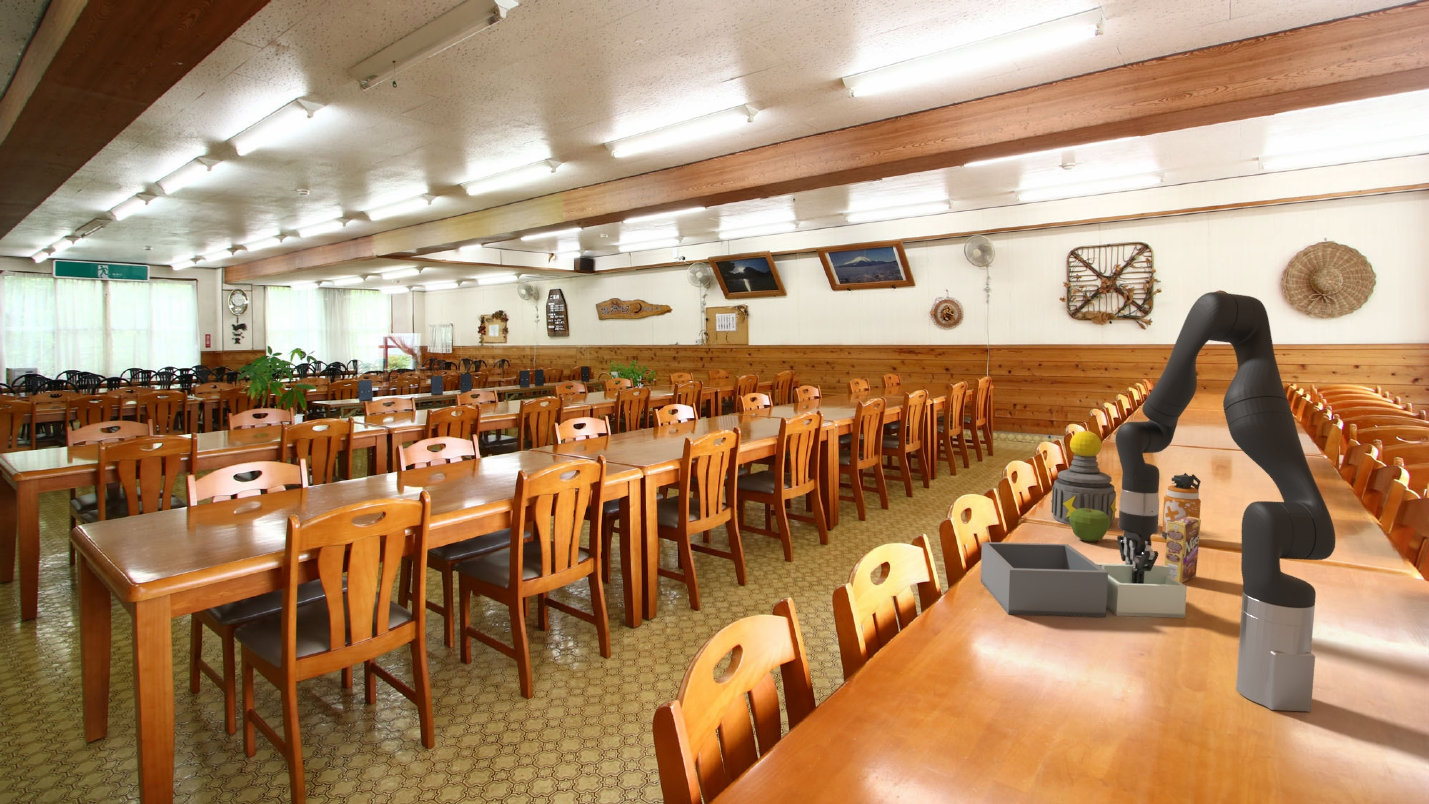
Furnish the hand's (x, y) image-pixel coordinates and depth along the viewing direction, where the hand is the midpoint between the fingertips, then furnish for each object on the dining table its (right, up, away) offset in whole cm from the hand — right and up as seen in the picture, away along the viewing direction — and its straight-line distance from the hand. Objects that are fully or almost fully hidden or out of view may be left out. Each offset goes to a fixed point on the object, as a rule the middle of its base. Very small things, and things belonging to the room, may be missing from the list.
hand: (1134, 584), depth 153 cm
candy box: (+22, -3, +16) cm, 27 cm away
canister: (+45, 0, +49) cm, 67 cm away
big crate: (-20, -4, +4) cm, 21 cm away
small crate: (0, -5, 0) cm, 5 cm away
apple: (+17, 0, +49) cm, 52 cm away
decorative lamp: (+27, +2, +71) cm, 76 cm away
